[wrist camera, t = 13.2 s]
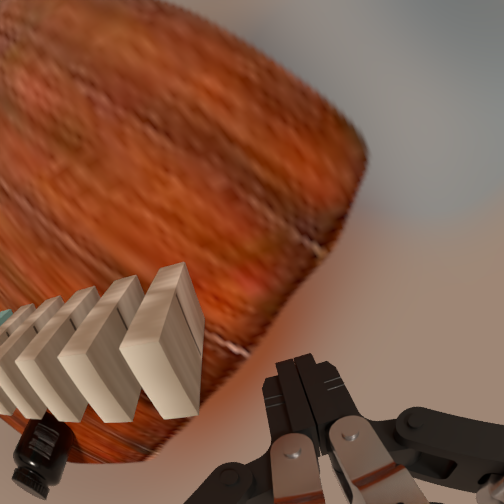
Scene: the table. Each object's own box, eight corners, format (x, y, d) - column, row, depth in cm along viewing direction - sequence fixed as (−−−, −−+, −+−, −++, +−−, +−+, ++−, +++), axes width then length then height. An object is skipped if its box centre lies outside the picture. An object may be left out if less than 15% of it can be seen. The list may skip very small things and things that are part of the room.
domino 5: (181, 324, 22) (163, 419, 12) (159, 268, 20) (118, 348, 11) (204, 318, 22) (198, 415, 13) (184, 261, 20) (158, 341, 11)
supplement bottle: (26, 411, 24) (-4, 470, 13) (49, 406, 24) (16, 475, 13) (58, 441, 27) (37, 501, 15) (84, 439, 26) (63, 507, 15)
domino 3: (101, 340, 22) (59, 421, 12) (77, 291, 20) (14, 361, 11) (119, 336, 22) (80, 422, 12) (95, 286, 20) (33, 359, 11)
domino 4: (138, 333, 22) (104, 422, 12) (114, 280, 20) (57, 357, 11) (159, 329, 22) (132, 421, 12) (136, 274, 20) (85, 353, 11)
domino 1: (44, 349, 22) (-1, 413, 12) (21, 306, 20) (-36, 364, 10) (56, 347, 22) (11, 415, 12) (33, 303, 20) (-27, 363, 11)
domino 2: (70, 345, 22) (26, 418, 12) (45, 299, 20) (-15, 363, 11) (85, 342, 22) (41, 419, 12) (60, 295, 20) (-2, 362, 11)
